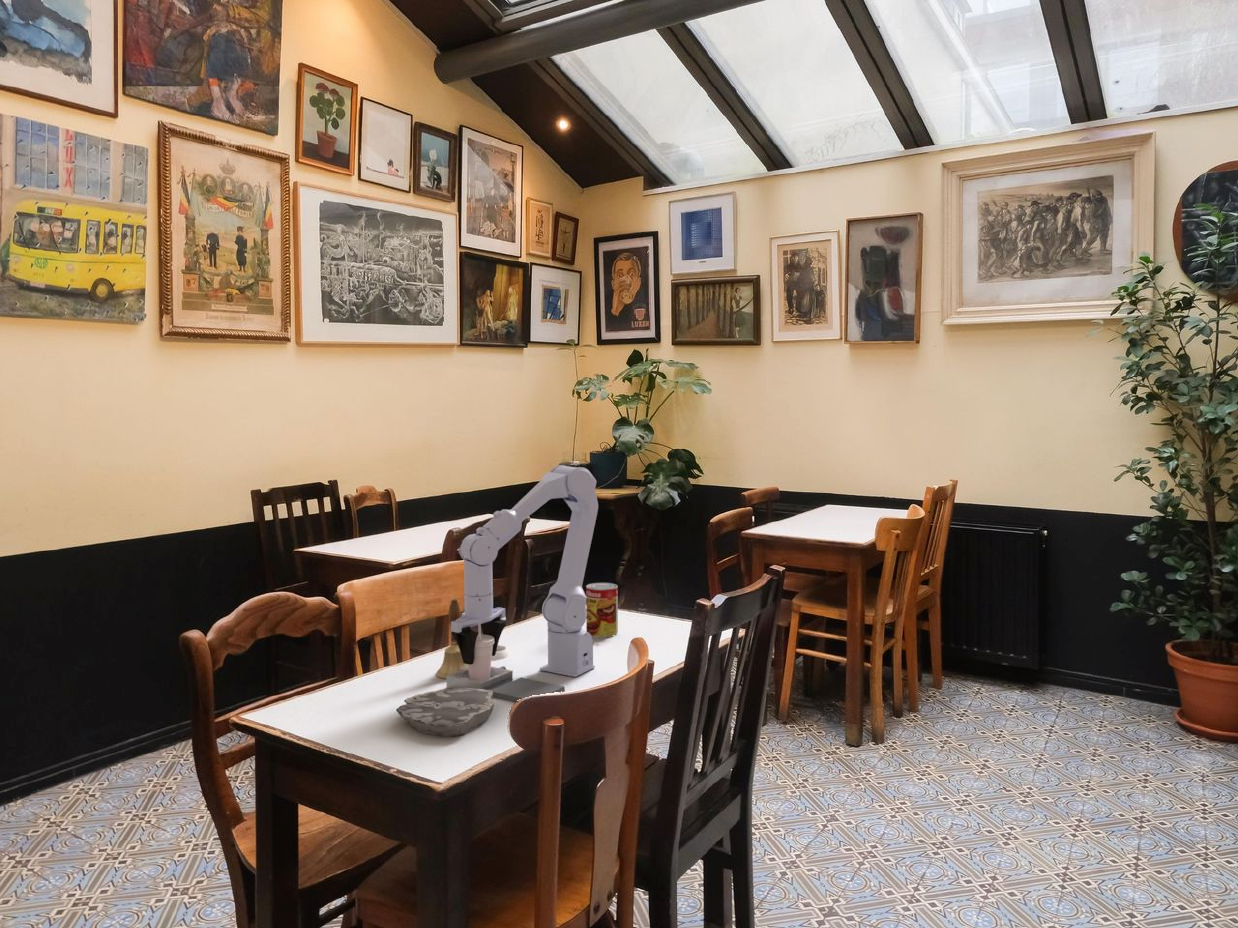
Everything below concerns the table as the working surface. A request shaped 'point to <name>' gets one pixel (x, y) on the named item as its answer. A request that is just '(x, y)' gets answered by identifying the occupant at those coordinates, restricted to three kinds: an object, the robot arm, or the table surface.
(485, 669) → the smoothie
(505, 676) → the holder
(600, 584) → the canned food
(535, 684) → the mat
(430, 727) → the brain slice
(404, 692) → the table surface
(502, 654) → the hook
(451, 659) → the hand bell
